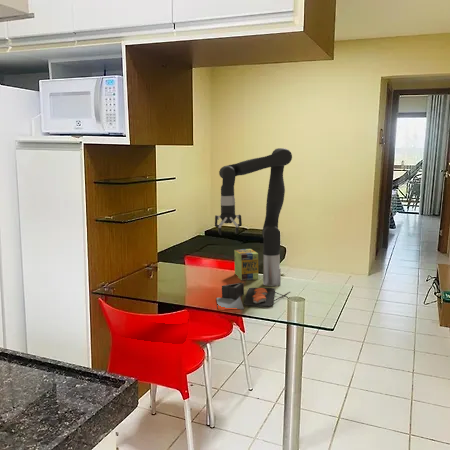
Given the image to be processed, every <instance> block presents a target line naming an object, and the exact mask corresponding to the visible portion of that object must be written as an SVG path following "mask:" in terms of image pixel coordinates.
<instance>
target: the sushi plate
mask: <svg viewBox="0 0 450 450" xmlns="http://www.w3.org/2000/svg"><path fill="white" fill-rule="evenodd" d="M289 293H291V291H288V292H287V293H284V294H281V293H279V292H276V289H275V288H272V287H248V289H247V290H246V294H245V297H244V300H243V306H247V307H272V306H274V304H275V303H274V302H275V301H277V300H279V299H282V298H283V297H285V298H287V299H289V298H288V297H289V296H287V295H289ZM276 294H277V295H280V296H279V297H278V298H276V299H275V297H276V296H275V295H276Z"/></svg>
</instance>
